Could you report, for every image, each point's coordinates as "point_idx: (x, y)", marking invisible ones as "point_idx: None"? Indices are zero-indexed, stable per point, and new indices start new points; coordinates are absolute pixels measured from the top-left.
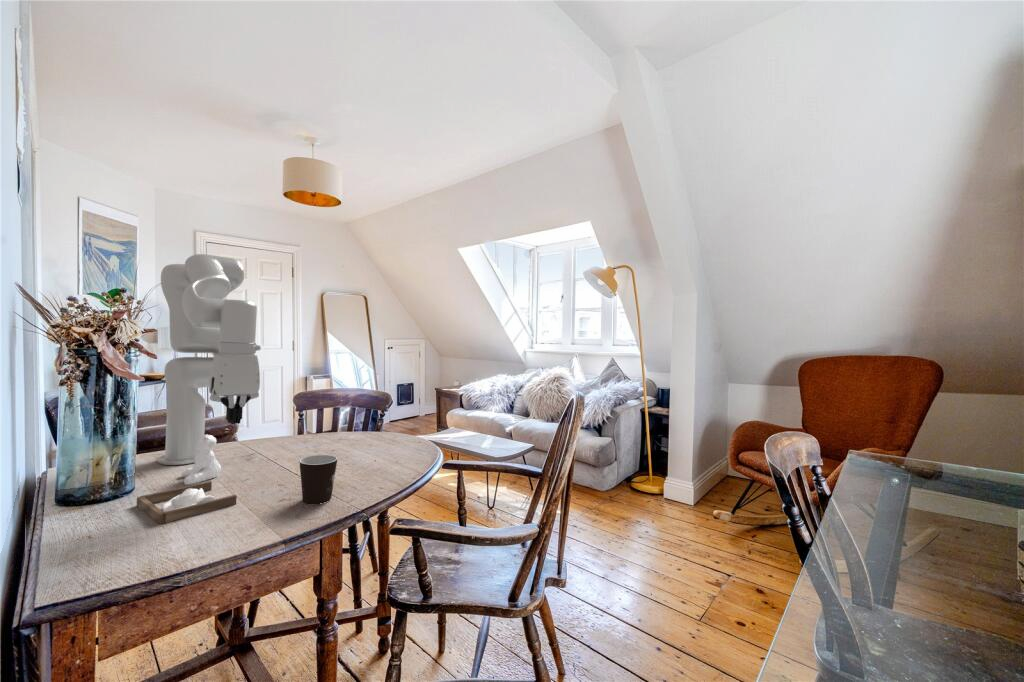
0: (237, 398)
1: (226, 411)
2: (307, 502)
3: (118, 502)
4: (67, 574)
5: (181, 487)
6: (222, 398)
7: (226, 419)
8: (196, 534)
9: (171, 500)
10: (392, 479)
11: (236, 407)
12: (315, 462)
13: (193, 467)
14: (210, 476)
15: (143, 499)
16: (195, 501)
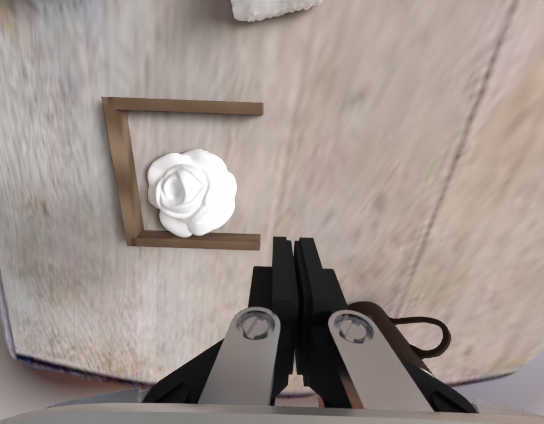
0: (355, 398)
1: (250, 295)
2: None
3: (82, 33)
4: (32, 308)
5: (195, 100)
6: None
7: (254, 266)
8: (171, 309)
9: (163, 163)
10: (522, 335)
11: (307, 350)
12: (407, 354)
13: None
14: (298, 10)
15: (111, 129)
16: (190, 227)
